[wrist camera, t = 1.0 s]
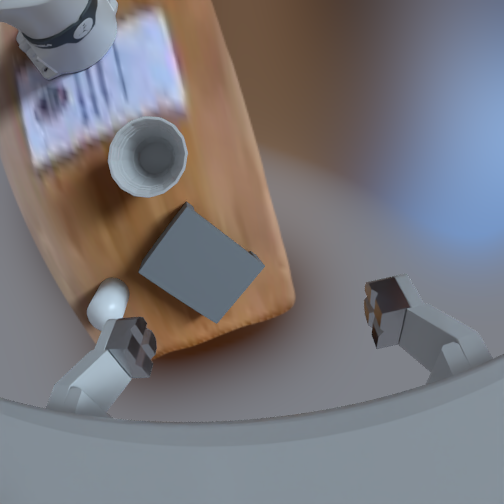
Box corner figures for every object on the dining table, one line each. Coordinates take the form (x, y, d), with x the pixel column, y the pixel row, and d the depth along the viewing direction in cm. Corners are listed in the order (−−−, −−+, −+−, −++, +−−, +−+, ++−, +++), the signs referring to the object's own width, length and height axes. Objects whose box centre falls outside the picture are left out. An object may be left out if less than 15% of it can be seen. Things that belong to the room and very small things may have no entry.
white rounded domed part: (93, 295, 51) (81, 318, 43) (108, 271, 51) (97, 291, 42) (119, 312, 53) (111, 338, 45) (135, 289, 53) (128, 312, 44)
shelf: (142, 260, 52) (138, 272, 46) (186, 201, 51) (187, 206, 45) (212, 308, 57) (216, 323, 52) (256, 255, 56) (265, 266, 51)
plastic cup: (121, 129, 44) (105, 121, 33) (185, 123, 47) (186, 112, 36) (125, 193, 48) (109, 202, 37) (187, 186, 50) (189, 194, 39)
